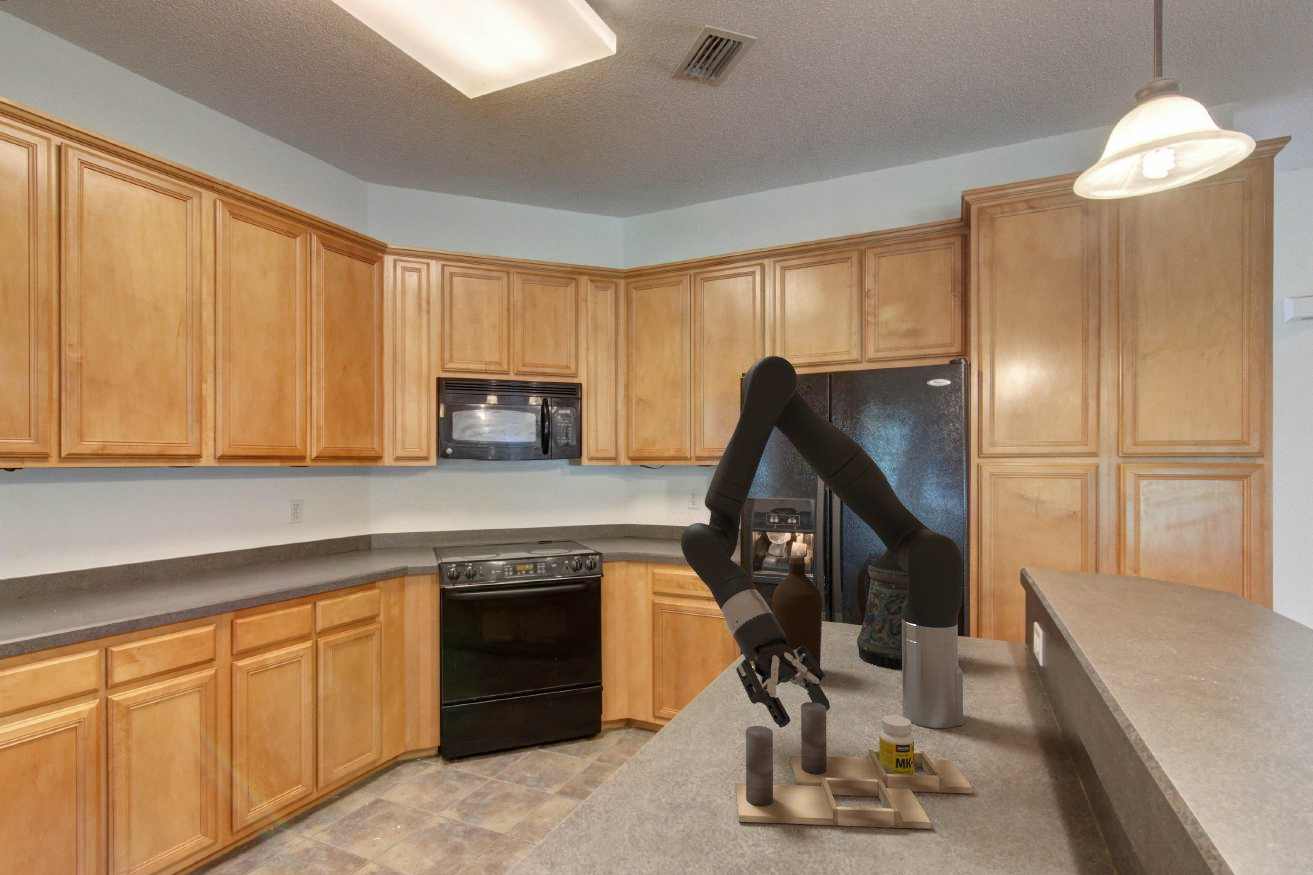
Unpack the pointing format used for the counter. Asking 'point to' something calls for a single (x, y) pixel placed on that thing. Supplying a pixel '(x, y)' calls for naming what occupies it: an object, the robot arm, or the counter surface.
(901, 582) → the beer stein
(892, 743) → the supplement bottle
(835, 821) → the empty strip
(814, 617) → the olive oil
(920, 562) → the robot arm
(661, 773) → the counter surface
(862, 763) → the wooden rack with post
